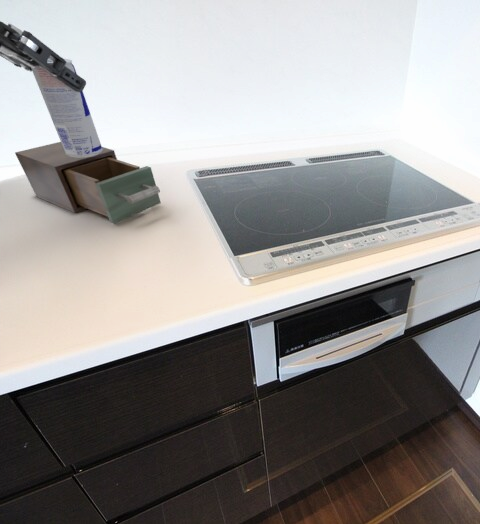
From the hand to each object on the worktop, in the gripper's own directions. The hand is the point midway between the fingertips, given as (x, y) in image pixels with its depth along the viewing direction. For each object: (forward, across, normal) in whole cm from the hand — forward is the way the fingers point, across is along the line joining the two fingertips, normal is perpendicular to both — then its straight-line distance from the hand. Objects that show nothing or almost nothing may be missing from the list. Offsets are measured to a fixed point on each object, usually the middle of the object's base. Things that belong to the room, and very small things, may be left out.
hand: (71, 84), depth 60 cm
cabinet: (+17, +13, +16) cm, 27 cm away
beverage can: (+7, 0, +9) cm, 12 cm away
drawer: (+17, -2, +15) cm, 23 cm away
